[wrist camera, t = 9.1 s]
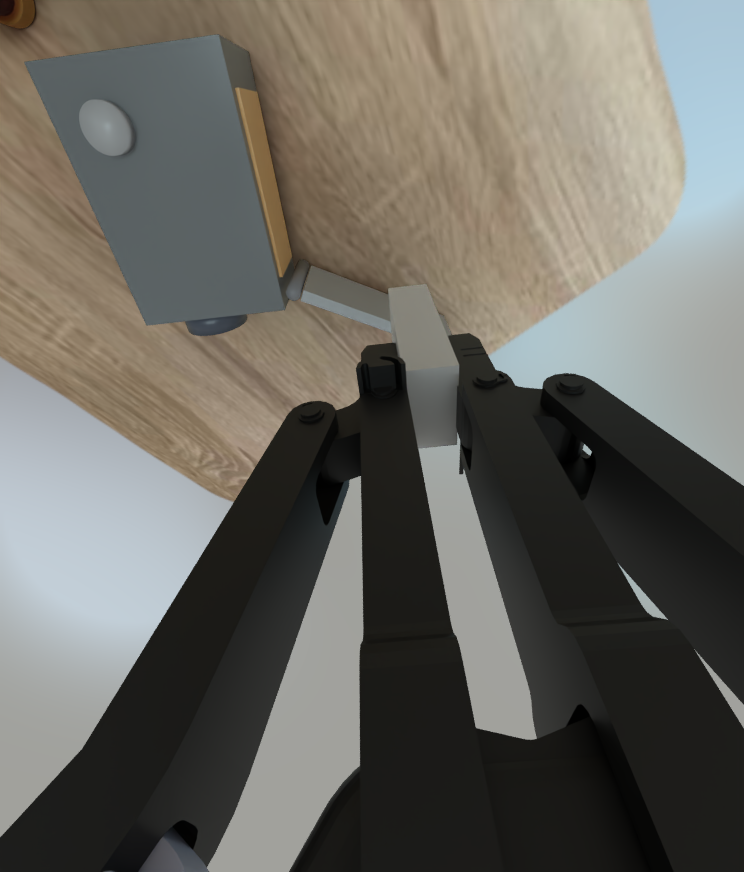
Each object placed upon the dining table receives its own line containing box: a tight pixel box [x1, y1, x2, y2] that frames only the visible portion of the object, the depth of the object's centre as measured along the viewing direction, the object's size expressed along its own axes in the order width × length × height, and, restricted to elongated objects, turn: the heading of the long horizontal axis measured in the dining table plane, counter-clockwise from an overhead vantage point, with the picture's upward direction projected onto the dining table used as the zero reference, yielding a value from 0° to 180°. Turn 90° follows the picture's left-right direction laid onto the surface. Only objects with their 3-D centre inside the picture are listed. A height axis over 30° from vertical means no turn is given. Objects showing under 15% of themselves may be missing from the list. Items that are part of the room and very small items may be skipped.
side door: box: [286, 260, 452, 336], centre depth 33 cm, size 13×2×7 cm, turn 69°
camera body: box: [24, 34, 295, 336], centre depth 28 cm, size 16×10×8 cm, turn 6°
